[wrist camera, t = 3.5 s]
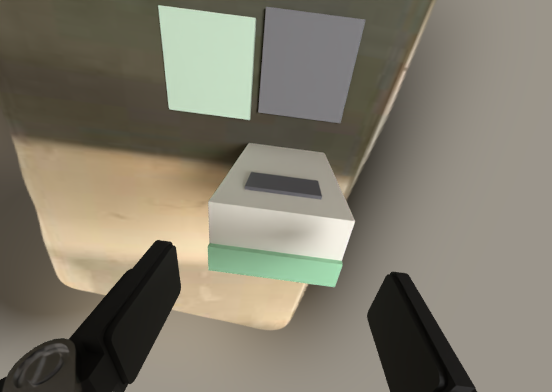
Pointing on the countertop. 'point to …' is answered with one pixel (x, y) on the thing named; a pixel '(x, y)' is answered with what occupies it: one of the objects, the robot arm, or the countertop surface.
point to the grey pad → (307, 63)
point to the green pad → (208, 61)
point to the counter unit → (279, 217)
